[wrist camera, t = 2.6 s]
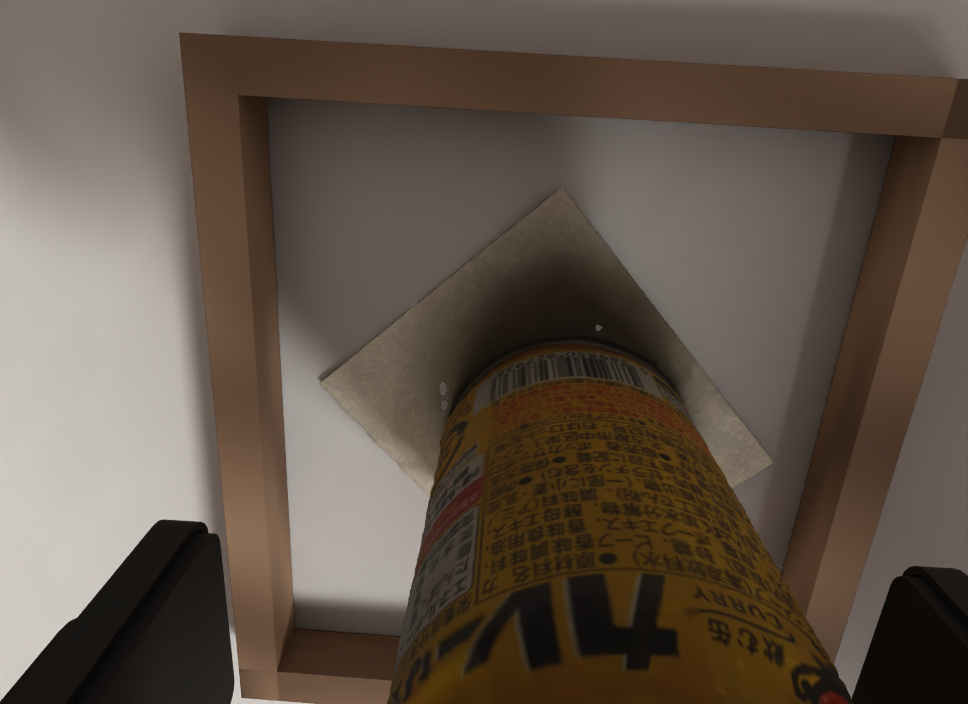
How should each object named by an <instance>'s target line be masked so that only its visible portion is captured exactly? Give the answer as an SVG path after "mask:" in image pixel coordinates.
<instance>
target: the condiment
mask: <svg viewBox="0 0 968 704" xmlns="http://www.w3.org/2000/svg"><path fill="white" fill-rule="evenodd" d="M597 324H598V325H600V326H602V327H603V328H602V329H601V330H600V331H596V329H595V327H596V325H597ZM442 382H446V387H447V392H446V394H445V396H442V395H440V393H439V384H440V383H442ZM320 384H321V386H322V387H323V388H324V389H325V390H326V391H327V392H328V393H329V394H330V395H331V396H332V397H333V398H334V399H335V400H336V402H337V403H338V404H339V405H340V406H341V407H342V408H343V409H344V410H345V411H346V412H347V413H348V414H349V415H350V416H351V417H352V418H353V419H354V420H355V421H356V422H358V423H359V425H360V426H361V427H362V428H363V429H364V430H365V431H366V432H367V434H368V435H369V436H370V437H371V439H372V440H373V441H374V442H375V443H376V444H377V445H378V446H379V447H380V448H382V449H383V450H384V451H385V452H387V454H388V455H389V456H390V457H391V458H392V459H393V460H394V461H395V462H396V463H397V464H398V466H399V467H400V468H401V469H402V470H403V471H404V473H405V474H406V475H408V476H409V477H411V478H412V479H413V481H414V482H415V483H416V484H417V485H418V486H419V487H420V488H421V489H422V490H423V491H425V493H426V494H427V495H428V496H429V497H430V500H429V505H428V509H427V513H426V520H425V528H424V532H423V535H422V542H421V547H420V552H419V556H418V559H417V565H416V568H415V576H414V579H413V582H412V586H411V590H410V596H409V601H408V606H407V611H406V616H405V619H404V626H403V629H402V635H401V637H400V641H399V649H398V655H397V659H396V665H395V669H394V673H393V680H392V683H391V687H390V695H389V698H388V701H387V704H853V702H852V699H851V697H850V695H849V693H848V691H847V688H846V685H845V683H844V682H843V681H842V680H841V679H840V678H839V676H838V671H837V669H836V667H835V666H834V664H833V663H832V661H831V658H830V656H829V654H828V653H827V651H826V650H825V649H824V648H823V647H822V644H821V641H820V640H819V639H818V638H817V637H816V634H815V632H814V630H813V628H812V626H811V625H810V624H809V622H808V621H807V619H806V617H805V614H804V612H803V611H802V610H801V609H800V607H799V604H798V601H797V600H796V599H795V597H794V596H793V594H792V593H791V592H790V590H789V588H788V586H787V584H786V583H785V582H784V580H783V578H782V576H781V574H780V572H779V570H778V568H777V567H776V565H775V564H774V562H773V560H772V558H771V556H770V554H769V553H768V551H767V549H766V548H765V546H764V545H763V543H762V541H761V540H760V538H759V536H758V534H757V532H756V531H755V529H754V527H753V525H752V524H751V522H750V519H749V518H748V516H747V515H746V511H745V510H744V509H743V506H742V505H741V504H740V502H739V501H738V499H737V497H736V495H735V494H734V491H733V490H732V489H733V488H735V487H736V486H738V485H740V484H742V483H743V482H745V481H746V480H748V479H750V478H751V477H753V476H755V475H756V474H758V473H759V472H761V471H762V470H764V469H765V468H767V467H768V466H770V465H771V464H773V463H774V462H773V461H772V460H771V458H770V457H769V456H768V455H767V453H766V452H765V451H764V449H763V448H762V447H761V445H760V444H759V443H758V441H757V440H756V439H755V438H754V436H753V435H752V434H751V432H750V431H749V430H748V428H747V427H746V426H745V425H744V423H743V422H742V421H741V419H740V418H739V417H738V415H737V414H736V413H735V411H734V410H733V409H732V408H731V406H730V405H729V404H728V402H727V401H726V400H725V399H724V397H723V396H722V395H721V393H720V392H719V391H718V389H717V388H716V387H715V385H714V384H713V383H712V381H711V380H710V379H709V378H708V376H707V375H706V373H705V372H704V371H703V369H702V368H701V367H700V366H699V364H698V363H697V362H696V361H695V359H694V358H693V357H692V355H691V354H690V353H689V351H688V350H687V349H686V347H685V346H684V345H683V344H682V342H681V341H680V340H679V338H678V337H677V336H676V334H675V333H674V331H673V330H672V329H671V328H670V327H669V325H668V324H667V323H666V321H665V320H664V319H663V318H662V316H661V315H660V314H659V312H658V311H657V310H656V308H655V307H654V306H653V305H652V304H651V303H650V301H649V300H648V298H647V297H646V295H645V294H644V293H643V291H642V290H641V289H640V287H639V286H638V285H637V284H636V282H635V281H634V279H633V278H632V277H631V276H630V274H629V273H628V272H627V271H626V269H625V268H624V267H623V265H622V264H621V262H620V261H619V260H618V258H617V257H616V256H615V255H614V253H613V252H612V251H611V250H610V248H609V247H608V246H607V244H606V243H605V242H604V241H603V239H602V238H601V237H600V235H599V234H598V233H597V232H596V230H595V229H594V228H593V226H592V225H591V224H590V222H589V221H588V220H587V218H586V217H585V216H584V214H583V213H582V212H581V210H580V209H579V208H578V207H577V205H576V204H575V203H574V201H573V200H572V199H571V197H570V196H569V195H568V194H567V192H566V191H565V190H564V188H563V187H562V188H561V189H560V190H558V191H557V192H556V193H555V194H553V195H552V196H551V197H550V198H548V199H547V200H546V201H544V202H543V203H542V204H541V205H540V206H538V207H537V208H536V209H535V210H534V211H533V212H531V213H530V214H528V215H527V216H525V217H524V218H523V219H521V220H520V221H519V222H518V223H517V224H515V225H514V226H513V227H512V228H511V229H509V230H508V231H507V232H505V233H504V234H503V235H502V236H500V237H499V238H498V239H497V240H496V241H494V242H493V243H492V244H491V245H489V246H488V247H487V248H486V249H485V250H483V251H482V252H481V253H480V254H479V255H477V256H476V257H475V258H473V259H472V260H470V261H469V262H468V263H467V264H466V265H464V266H463V267H462V268H461V269H459V270H458V271H457V272H456V273H455V274H454V275H452V276H451V277H450V278H448V279H447V280H446V281H445V282H443V283H442V284H441V285H440V286H439V287H437V288H436V289H435V290H434V291H432V292H431V293H430V294H429V295H428V296H426V297H425V298H424V299H423V300H421V301H420V302H419V303H417V305H416V306H414V307H412V308H410V309H409V310H408V311H407V312H406V313H405V314H404V315H403V316H402V317H400V318H399V319H398V320H397V321H396V322H395V323H393V324H392V325H391V326H390V327H389V328H387V329H386V330H385V331H384V332H382V333H381V334H380V335H379V336H377V337H376V338H375V339H373V340H372V341H371V342H370V343H368V344H367V345H366V346H365V347H363V348H362V349H361V350H360V351H359V352H358V353H357V354H355V355H354V356H353V357H352V358H350V359H349V360H348V361H347V362H346V363H344V364H343V365H342V366H341V367H339V368H338V369H337V370H336V371H334V372H333V373H332V374H331V375H330V376H328V377H327V378H326V379H325V380H323V381H322V382H321V383H320ZM444 399H445V400H446V401H447V402H448V407H447V409H446V410H444V411H442V410H441V408H440V406H441V401H442V400H444Z"/></svg>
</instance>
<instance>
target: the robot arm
mask: <svg viewBox="0 0 968 704" xmlns="http://www.w3.org/2000/svg"><path fill="white" fill-rule="evenodd" d="M233 691H234V671H233V662H232V652H231V642H230V633H229V623H228V613H227V604H226V594H225V584H224V575H223V565H222V555H221V546H220V540H219V537H218V535H217V534H212V533H208V528H207V526H206V525H205V523H202V522H194V521H178V520H160V521H158V522H157V523H156V524H154V525H153V527H152V528H151V529H150V530H149V531H148V533H147V534H146V535H145V536H144V537H143V539H142V540H141V541H140V542H139V544H138V545H137V546H136V547H135V548H134V550H133V551H132V552H131V553H130V554H129V556H128V557H127V558H126V559H125V561H124V562H123V563H122V564H121V565H120V567H119V568H118V569H117V570H116V571H115V573H114V574H113V575H112V576H111V578H110V579H109V580H108V581H107V582H106V584H105V585H104V586H103V587H102V588H101V590H100V591H99V592H98V593H97V594H96V596H95V597H94V598H93V599H92V601H91V602H90V603H89V604H88V605H87V607H86V608H85V609H84V610H83V611H82V613H81V614H80V615H79V616H78V618H76V619H73V620H71V621H69V622H68V623H67V624H66V625H65V626H64V627H63V628H62V629H61V630H60V631H59V632H58V633H57V634H56V636H55V637H54V638H53V639H52V640H51V642H50V643H49V644H48V645H47V646H46V648H45V649H44V650H43V651H42V652H41V653H40V655H39V656H38V657H37V658H36V659H35V661H34V662H33V663H32V664H31V665H30V667H29V668H28V669H27V670H26V671H25V673H24V674H23V675H22V676H21V677H20V679H19V680H18V681H17V682H16V683H15V685H14V686H13V687H12V688H11V689H10V690H9V692H8V693H7V694H6V695H5V696H4V698H3V699H2V700H1V701H0V704H230V703H231V700H232V696H233ZM852 702H853V704H968V576H967V575H966V574H965V573H963V572H962V571H960V570H957V569H954V568H937V567H921V566H913V567H909V568H908V569H907V570H905V571H904V573H903V575H902V576H899V577H896V578H895V579H894V580H893V582H892V583H891V586H890V589H889V592H888V594H887V597H886V600H885V603H884V606H883V609H882V612H881V615H880V618H879V621H878V624H877V626H876V629H875V632H874V635H873V638H872V641H871V644H870V647H869V650H868V653H867V656H866V659H865V661H864V664H863V667H862V670H861V673H860V676H859V679H858V682H857V685H856V688H855V691H854V694H853V696H852Z"/></svg>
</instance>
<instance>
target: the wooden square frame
mask: <svg viewBox="0 0 968 704" xmlns="http://www.w3.org/2000/svg"><path fill="white" fill-rule="evenodd" d="M179 35H180V46H181V56H182V67H183V78H184V88H185V99H186V110H187V120H188V131H189V142H190V152H191V163H192V174H193V184H194V195H195V206H196V216H197V227H198V238H199V248H200V259H201V270H202V280H203V291H204V302H205V312H206V323H207V334H208V344H209V355H210V366H211V376H212V387H213V398H214V408H215V419H216V430H217V440H218V451H219V462H220V472H221V483H222V494H223V505H224V515H225V526H226V537H227V547H228V558H229V569H230V579H231V590H232V601H233V611H234V622H235V633H236V643H237V654H238V665H239V675H240V686H241V697H242V698H250V699H263V700H276V701H289V702H302V703H315V704H387V701H388V698H389V695H390V687H391V683H392V680H393V673H394V669H395V665H396V659H397V655H398V649H399V641H400V637H393V636H379V635H366V634H353V633H340V632H326V631H313V630H300V629H295V622H294V603H293V585H292V566H291V548H290V529H289V511H288V492H287V473H286V455H285V436H284V418H283V399H282V381H281V362H280V344H279V325H278V306H277V288H276V269H275V251H274V232H273V214H272V195H271V177H270V158H269V139H268V121H267V102H266V97H277V98H293V99H310V100H326V101H342V102H359V103H375V104H392V105H408V106H425V107H441V108H457V109H474V110H490V111H507V112H523V113H540V114H556V115H572V116H589V117H605V118H622V119H638V120H655V121H671V122H687V123H704V124H720V125H737V126H753V127H769V128H786V129H802V130H819V131H835V132H852V133H868V134H884V135H897V136H896V139H895V143H894V147H893V151H892V155H891V159H890V162H889V166H888V170H887V174H886V178H885V182H884V185H883V189H882V193H881V197H880V201H879V205H878V208H877V212H876V216H875V220H874V224H873V227H872V231H871V235H870V239H869V243H868V247H867V250H866V254H865V258H864V262H863V266H862V270H861V273H860V277H859V281H858V285H857V289H856V293H855V296H854V300H853V304H852V308H851V312H850V316H849V319H848V323H847V327H846V331H845V335H844V339H843V342H842V346H841V350H840V354H839V358H838V361H837V365H836V369H835V373H834V377H833V381H832V384H831V388H830V392H829V396H828V400H827V404H826V407H825V411H824V415H823V419H822V423H821V427H820V430H819V434H818V438H817V442H816V446H815V450H814V453H813V457H812V461H811V465H810V469H809V473H808V476H807V480H806V484H805V488H804V492H803V495H802V499H801V503H800V507H799V511H798V515H797V518H796V522H795V526H794V530H793V534H792V538H791V541H790V545H789V549H788V553H787V557H786V561H785V564H784V568H783V572H782V578H783V580H784V582H785V583H786V584H787V586H788V588H789V590H790V592H791V593H792V594H793V596H794V597H795V599H796V600H797V601H798V604H799V607H800V609H801V610H802V611H803V612H804V614H805V617H806V619H807V621H808V622H809V624H810V625H811V626H812V628H813V630H814V632H815V634H816V637H817V638H818V639H819V640H820V641H821V644H822V647H823V648H824V649H825V650H826V651H827V653H828V654H829V656H830V658H831V661H832V663H833V664H834V662H835V658H836V655H837V652H838V649H839V646H840V642H841V639H842V636H843V633H844V630H845V626H846V623H847V620H848V617H849V614H850V610H851V607H852V604H853V601H854V598H855V594H856V591H857V588H858V585H859V582H860V578H861V575H862V572H863V569H864V566H865V562H866V559H867V556H868V553H869V550H870V546H871V543H872V540H873V537H874V534H875V530H876V527H877V524H878V521H879V518H880V514H881V511H882V508H883V505H884V502H885V498H886V495H887V492H888V489H889V486H890V482H891V479H892V476H893V473H894V470H895V466H896V463H897V460H898V457H899V454H900V450H901V447H902V444H903V441H904V438H905V434H906V431H907V428H908V425H909V422H910V418H911V415H912V412H913V409H914V406H915V402H916V399H917V396H918V393H919V390H920V386H921V383H922V380H923V377H924V374H925V370H926V367H927V364H928V361H929V358H930V354H931V351H932V348H933V345H934V342H935V338H936V335H937V332H938V329H939V326H940V322H941V319H942V316H943V313H944V310H945V306H946V303H947V300H948V297H949V294H950V290H951V287H952V284H953V281H954V278H955V274H956V271H957V268H958V265H959V262H960V258H961V255H962V252H963V249H964V246H965V242H966V239H967V236H968V79H953V78H936V77H920V76H903V75H886V74H869V73H852V72H835V71H818V70H802V69H785V68H768V67H751V66H734V65H717V64H700V63H683V62H667V61H650V60H633V59H616V58H599V57H582V56H565V55H549V54H532V53H515V52H498V51H481V50H464V49H447V48H431V47H414V46H397V45H380V44H363V43H346V42H329V41H313V40H296V39H279V38H262V37H245V36H228V35H211V34H194V33H179Z"/></svg>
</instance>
